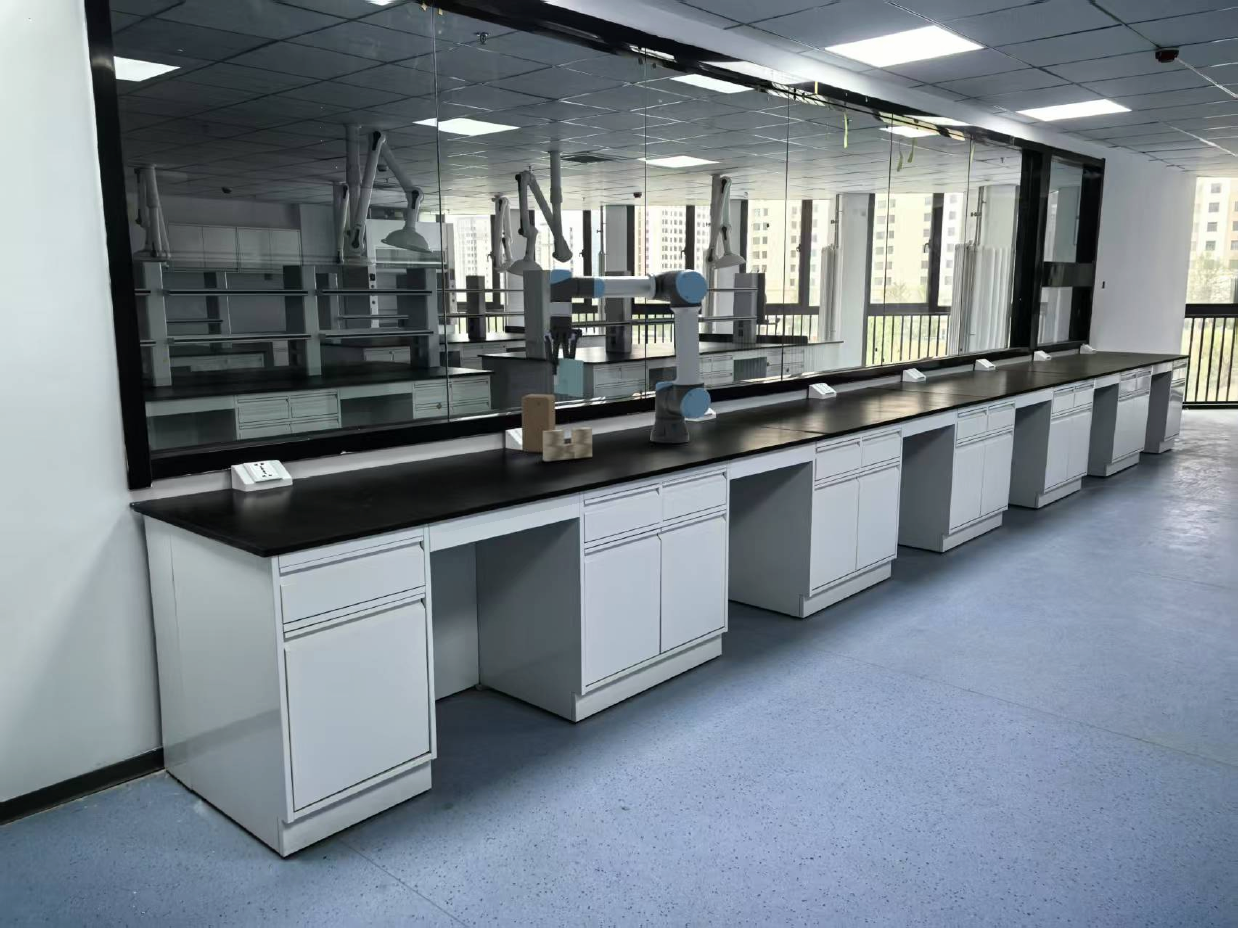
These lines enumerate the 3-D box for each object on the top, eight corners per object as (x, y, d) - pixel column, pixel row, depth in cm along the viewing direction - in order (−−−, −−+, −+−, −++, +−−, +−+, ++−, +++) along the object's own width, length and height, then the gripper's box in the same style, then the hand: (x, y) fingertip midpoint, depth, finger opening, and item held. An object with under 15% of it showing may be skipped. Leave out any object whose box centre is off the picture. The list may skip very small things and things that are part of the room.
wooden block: (548, 453, 316) (547, 397, 313) (521, 452, 318) (520, 396, 315) (555, 448, 326) (555, 394, 322) (529, 447, 328) (529, 393, 324)
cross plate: (554, 392, 309) (554, 357, 307) (560, 392, 310) (560, 357, 308) (576, 396, 295) (576, 360, 293) (583, 396, 297) (583, 360, 294)
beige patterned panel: (588, 455, 312) (588, 427, 310) (592, 456, 310) (592, 428, 308) (543, 460, 302) (542, 431, 300) (546, 461, 300) (546, 431, 298)
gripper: (575, 315, 310) (574, 382, 314) (535, 315, 301) (535, 384, 306) (586, 315, 303) (585, 384, 308) (545, 315, 295) (545, 386, 299)
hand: (560, 384), depth 307 cm, fingers closed on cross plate, 2 cm apart
